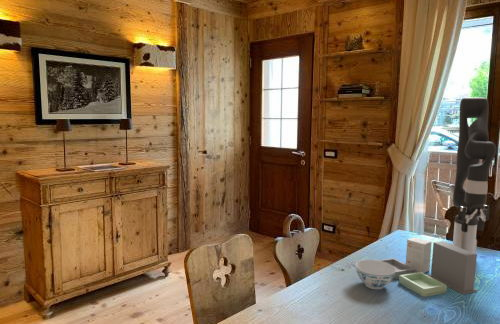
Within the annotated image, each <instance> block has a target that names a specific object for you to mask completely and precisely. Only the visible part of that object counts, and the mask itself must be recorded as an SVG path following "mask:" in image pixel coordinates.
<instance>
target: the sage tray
mask: <svg viewBox="0 0 500 324" xmlns="http://www.w3.org/2000/svg"><path fill="white" fill-rule="evenodd" d="M428 275H429V274H425V273H422V272H415V273H411V274H404V275H399V279H398V283H399V284H400V285H402V286H404V287H406V288H408V289H409V290H411V291H413V292H414V293H416V294H417V295H420V296H422V297H423V298H424V297H425V298H426V297H430V296H431V297H432V296H435V295H441V294H446V293H447V290H448V289H447V288H448V286H447V285H446V284H444V283H442V282H440V281H438V280H436V279H434V278H432V277H430V276H428Z"/></svg>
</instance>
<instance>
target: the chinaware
mask: <svg viewBox="0 0 500 324" xmlns="http://www.w3.org/2000/svg"><path fill="white" fill-rule="evenodd" d="M377 260H378V259H377ZM377 260H376V259H362V260H359V261H356V263H355V269H356V273H357V276H358V278H359V279H360V280H361V281H362V282H363V283H364V284H365V287H367V288H369V289H372V290H382V289H384V287H385V286H387V285H389V284H391V282H392V281H393V280H394V279H393V278H394V276H395V273H396V269H395V267H394V266H392V265H391V264H388V263H386V262H382V261H377Z"/></svg>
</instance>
